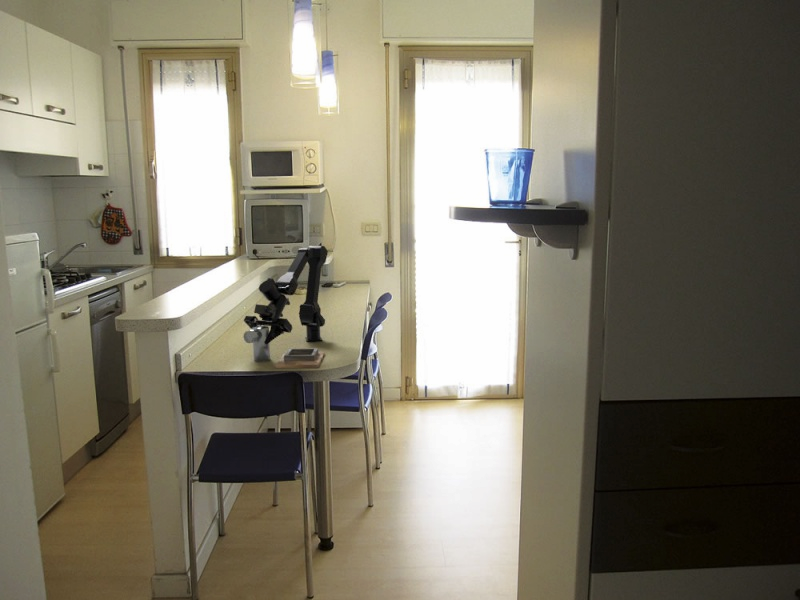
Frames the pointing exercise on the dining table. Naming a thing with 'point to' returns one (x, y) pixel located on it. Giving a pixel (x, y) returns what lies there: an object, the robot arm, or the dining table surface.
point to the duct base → (301, 358)
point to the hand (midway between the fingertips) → (258, 343)
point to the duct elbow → (259, 342)
